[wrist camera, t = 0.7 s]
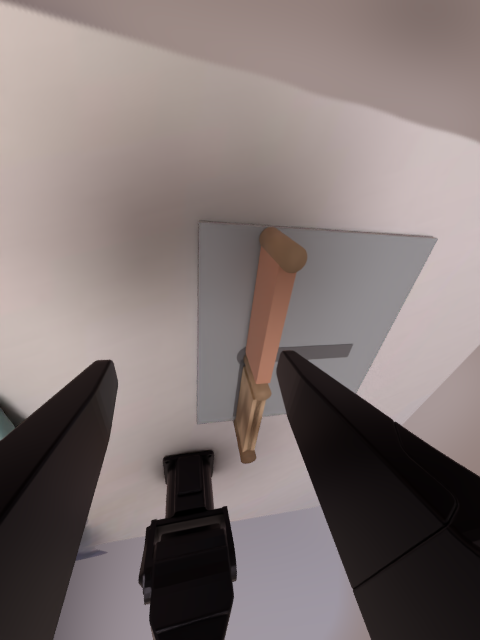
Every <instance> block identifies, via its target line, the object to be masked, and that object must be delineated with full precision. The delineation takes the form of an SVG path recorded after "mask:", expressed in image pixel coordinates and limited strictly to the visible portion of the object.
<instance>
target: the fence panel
mask: <svg viewBox="0 0 480 640" xmlns="http://www.w3.org/2000/svg"><path fill="white" fill-rule="evenodd" d="M259 242H260V245H261V249H260V256H259V263H258V269H257V276H256V283H255V290H254V297H253V303H252V310H251V317H250V324H249V331H248V338H247V344H246V351H245V352H246V355H245V356H244V358H243V360H244V363H245V367H246V370H247V373H248V376H249V380H250V383H251V386H252V389H253V393H254V396H255V399H256V400H258V401H264V400H267V399H268V398H269V397H270V396H271V394H272V393H271V390H270V387H269V385H268V383H270V381H271V377H272V373H273V369H274V365H275V360H276V356H277V352H278V348H279V344H280V340H281V335H282V331H283V327H284V323H285V319H286V315H287V310H288V306H289V302H290V298H291V294H292V289H293V285H294V281H295V277H296V273H297V272H298V271H300V270H301V269H302V268H303V267H304V266H305V264H306V262H307V252H306V250H305V249H304V248H303V247H302V246H300V245H299V244H298V243H296V242H295V241H293V240H292V239H291V238H289V237H288V236H286V235H285V234H284V233H282V232H281V231H279V230H278V229H276V228H275V227H268V228H266V229H264V230H263V231H262V233H261V234H260V238H259Z"/></svg>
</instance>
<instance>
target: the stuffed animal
mask: <svg viewBox="0 0 480 640" xmlns="http://www.w3.org/2000/svg"><path fill="white" fill-rule="evenodd" d="M14 429H15V427H14V425H13V424H12V422H11V421H10V420H9V419H8V418H7V416H6V415H5V413H4V412H3V410H2V409H1V408H0V440H2V439H3V438H4V437H5V436H6V435H8V434H9V433H10V432H11V431H12V430H14Z"/></svg>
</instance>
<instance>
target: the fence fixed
mask: <svg viewBox="0 0 480 640" xmlns="http://www.w3.org/2000/svg"><path fill="white" fill-rule="evenodd" d="M265 402H266V400H264V401H258V400H256V399H255V396H254V393H253V389H252V386H251V383H250V380H249V376H248V373H247V370H246V367H243V372H242V378H241V385H240V392H239V399H238V406H237V412H236V419H235V420H234V427H235V432H236V437H237V442H238V448H239V453H240V458H241V462H242V463H245V464H246V463H251V462H253V461H254V460H255V459H256V454H255V450H254V448H255V444H256V440H257V436H258V431H259V427H260V423H261V419H262V415H263V411H264V406H265Z"/></svg>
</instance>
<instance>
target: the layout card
mask: <svg viewBox="0 0 480 640" xmlns="http://www.w3.org/2000/svg"><path fill="white" fill-rule="evenodd" d="M268 227H275V228H276V229H278V230H279V231H281V232H282V233H284V234H285V235H286V236H288V237H289V238H291V239H292V240H293V241H295V242H296V243H298V244H299V245H300V246H302V247H303V248H304V249H305V250H306V252H307V262H306V264H305V266H304V267H303V268H302V269H301V270H300V271H298V272H297V273H296V277H295V281H294V285H293V289H292V294H291V298H290V302H289V306H288V310H287V315H286V319H285V323H284V327H283V331H282V335H281V340H280V344H279V348H278V352H277V356H276V360H275V365H274V369H273V373H272V377H271V381H270V383H268V385H269V387H270V390H271V393H272V394H271V396H270V397H269V398H268V399H267V400H266V402H265V406H264V411H263V415H262V417H265V416H274V415H283V414H286V410H285V406H284V402H283V398H282V395H281V391H280V387H279V383H278V379H277V375H276V368H277V364H278V360H279V356H280V353H281V352H282V351H285V350H293V351H295V352H297V353H298V354H300V355H301V356H303V357H304V358H305V359H307V360H308V361H310V362H311V363H313V364H314V365H315V366H317V367H318V368H320V369H321V370H323V371H324V372H325V373H327V374H328V375H330V376H331V377H333V378H334V379H335V380H337V381H338V382H340V383H341V384H343V385H344V386H345V387H347V388H348V389H350V390H351V391H353V392H354V393H355V394H356V393H357V391H358V389H359V387H360V385H361V383H362V382H363V380H364V378H365V376H366V374H367V372H368V370H369V368H370V366H371V364H372V363H373V361H374V359H375V357H376V355H377V353H378V351H379V349H380V347H381V346H382V344H383V342H384V340H385V338H386V336H387V334H388V332H389V330H390V329H391V327H392V325H393V323H394V321H395V319H396V317H397V315H398V313H399V312H400V310H401V308H402V306H403V304H404V302H405V300H406V298H407V296H408V295H409V293H410V291H411V289H412V287H413V285H414V283H415V281H416V279H417V278H418V276H419V274H420V272H421V270H422V268H423V266H424V264H425V262H426V261H427V259H428V257H429V255H430V253H431V251H432V249H433V247H434V245H435V244H436V242H437V240H438V239H437V238H434V237H427V236H412V235H398V234H383V233H368V232H354V231H339V230H324V229H310V228H295V227H280V226H266V225H251V224H237V223H222V222H207V221H199V248H198V356H197V424H205V423H213V422H222V421H231V420H235V419H236V412H237V406H238V399H239V392H240V385H241V378H242V372H243V367H245V363H244V360H243V358H244V356H245V355H246V352H245V351H246V344H247V338H248V331H249V324H250V317H251V310H252V303H253V297H254V290H255V283H256V276H257V269H258V263H259V256H260V249H261V245H260V242H259V238H260V234H261V233H262V231H263V230H264V229H266V228H268Z"/></svg>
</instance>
